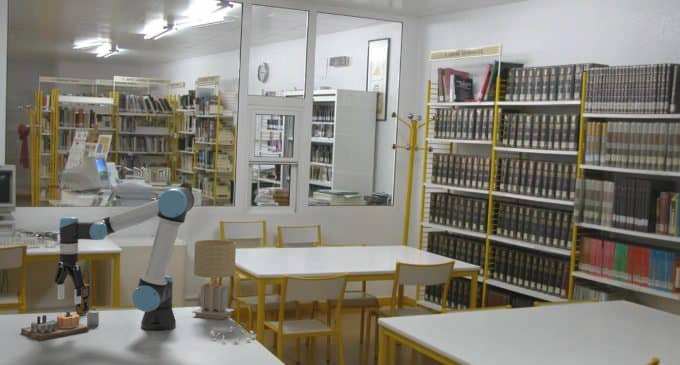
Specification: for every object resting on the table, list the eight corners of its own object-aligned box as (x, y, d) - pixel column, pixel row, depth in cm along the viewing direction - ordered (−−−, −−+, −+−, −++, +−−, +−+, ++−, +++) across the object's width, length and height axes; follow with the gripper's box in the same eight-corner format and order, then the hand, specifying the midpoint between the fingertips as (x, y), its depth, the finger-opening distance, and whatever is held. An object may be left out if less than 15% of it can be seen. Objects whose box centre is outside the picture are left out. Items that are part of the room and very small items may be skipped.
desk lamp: (241, 313, 368) (242, 241, 366) (222, 321, 350) (223, 246, 348) (205, 309, 374) (207, 238, 372) (185, 317, 356) (186, 243, 354)
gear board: (88, 331, 325) (88, 313, 325) (40, 340, 308) (40, 321, 308) (68, 324, 336) (69, 306, 335) (21, 333, 319) (21, 314, 318)
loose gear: (83, 325, 327) (83, 316, 327) (64, 328, 320) (64, 319, 320) (72, 321, 333) (72, 312, 333) (53, 324, 326) (53, 315, 326)
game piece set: (201, 341, 317) (201, 332, 316) (225, 330, 335) (225, 322, 335) (242, 347, 310) (242, 338, 310) (264, 336, 328) (264, 327, 328)
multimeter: (91, 317, 351) (92, 274, 350) (72, 315, 353) (72, 273, 352) (107, 310, 365) (107, 269, 364) (88, 308, 367) (89, 268, 366)
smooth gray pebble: (100, 325, 336) (101, 312, 336) (90, 327, 332) (91, 313, 332) (94, 323, 339) (94, 310, 339) (84, 325, 335) (84, 311, 335)
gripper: (46, 250, 330) (46, 298, 331) (76, 256, 314) (77, 307, 315) (61, 249, 336) (62, 296, 337) (92, 254, 320) (93, 304, 321)
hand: (69, 301), depth 326 cm, fingers open, 13 cm apart
